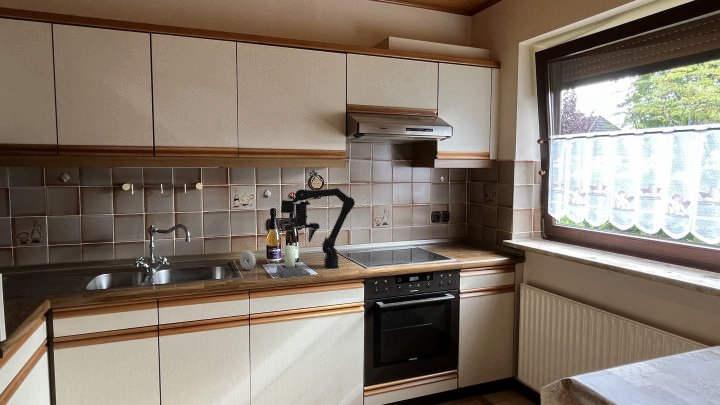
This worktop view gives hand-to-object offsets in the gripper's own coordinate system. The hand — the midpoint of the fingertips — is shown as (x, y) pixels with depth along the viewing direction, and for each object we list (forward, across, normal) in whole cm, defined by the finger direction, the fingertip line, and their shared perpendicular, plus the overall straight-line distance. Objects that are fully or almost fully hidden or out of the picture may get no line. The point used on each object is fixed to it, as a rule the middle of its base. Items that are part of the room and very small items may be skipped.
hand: (300, 242), depth 236 cm
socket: (+13, +8, +13) cm, 20 cm away
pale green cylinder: (+12, +10, +13) cm, 20 cm away
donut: (+13, +27, -4) cm, 30 cm away
